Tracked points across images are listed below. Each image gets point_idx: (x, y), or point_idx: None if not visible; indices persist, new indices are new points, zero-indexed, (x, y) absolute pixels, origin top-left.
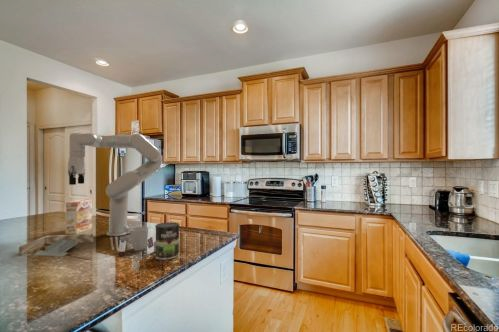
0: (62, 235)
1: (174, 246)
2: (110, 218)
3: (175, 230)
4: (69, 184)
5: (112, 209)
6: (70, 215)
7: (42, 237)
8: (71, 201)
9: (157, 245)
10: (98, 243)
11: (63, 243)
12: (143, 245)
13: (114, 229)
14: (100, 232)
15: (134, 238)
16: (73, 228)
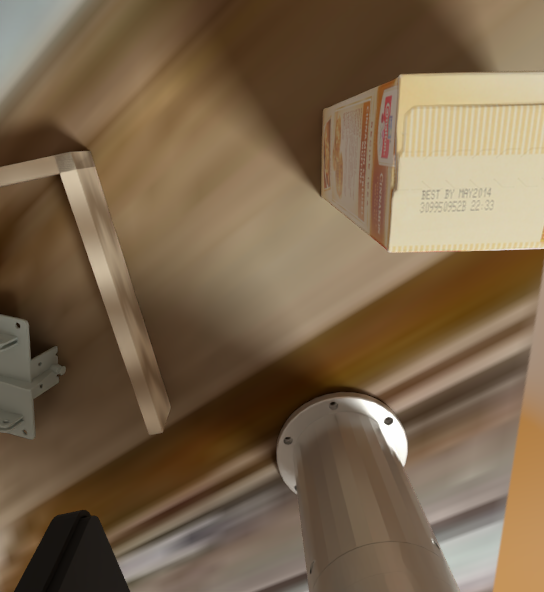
0: (103, 270)
1: None
2: (313, 502)
3: None
4: (62, 516)
5: (312, 584)
6: (349, 153)
7: (33, 168)
8: (445, 132)
9: None
10: (140, 453)
11: (2, 363)
12: None
13: (295, 476)
14: (373, 326)
15: None
16: (327, 178)
